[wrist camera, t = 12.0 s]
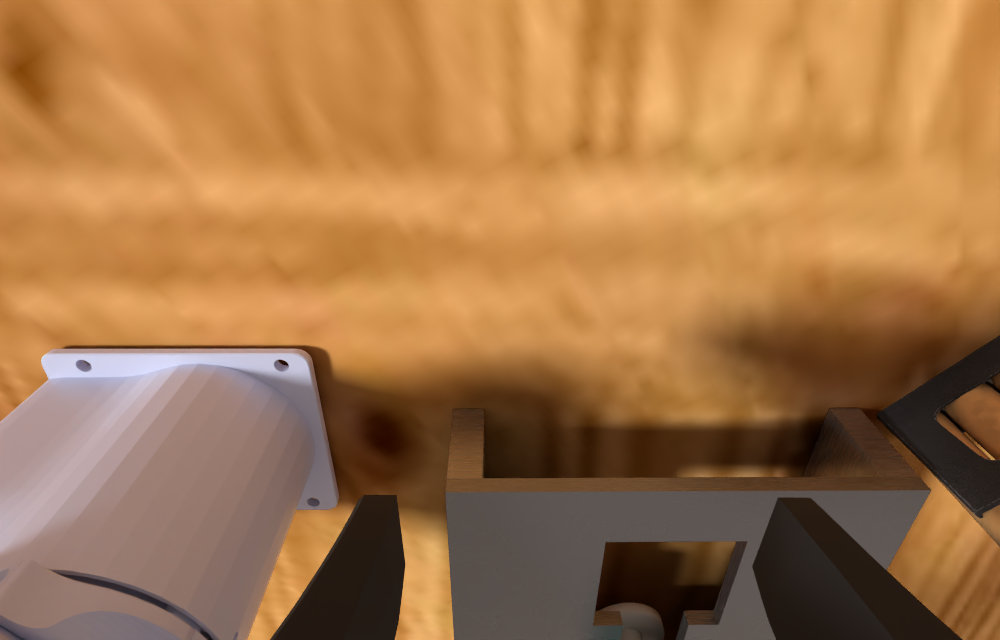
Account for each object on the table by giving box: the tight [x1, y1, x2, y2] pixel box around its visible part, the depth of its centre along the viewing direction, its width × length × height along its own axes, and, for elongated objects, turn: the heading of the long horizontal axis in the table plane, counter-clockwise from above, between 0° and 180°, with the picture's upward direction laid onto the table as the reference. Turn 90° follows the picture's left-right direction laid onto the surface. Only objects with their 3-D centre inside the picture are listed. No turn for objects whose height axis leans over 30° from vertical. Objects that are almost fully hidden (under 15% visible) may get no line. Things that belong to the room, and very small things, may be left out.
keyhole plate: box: [445, 408, 931, 640], centre depth 26 cm, size 16×22×4 cm
